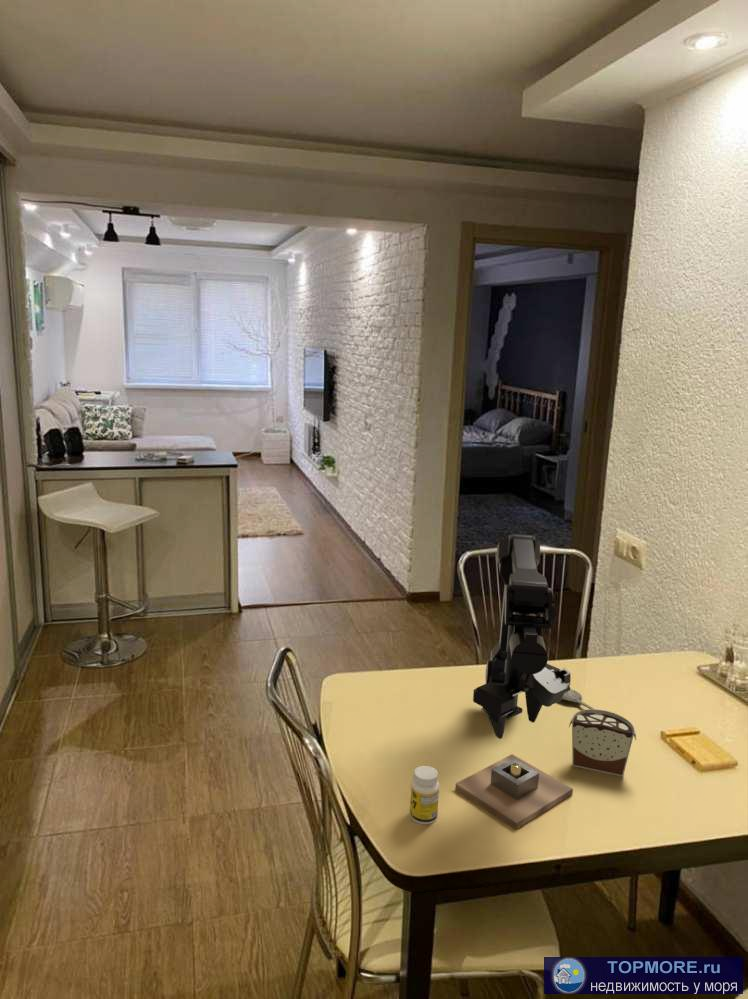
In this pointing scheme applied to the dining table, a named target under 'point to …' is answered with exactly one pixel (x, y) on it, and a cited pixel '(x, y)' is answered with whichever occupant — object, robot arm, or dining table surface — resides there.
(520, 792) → the grey square ring
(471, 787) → the keeper board
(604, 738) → the slice of cake
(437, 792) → the supplement bottle
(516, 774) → the keeper peg
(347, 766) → the dining table surface
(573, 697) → the soupspoon
